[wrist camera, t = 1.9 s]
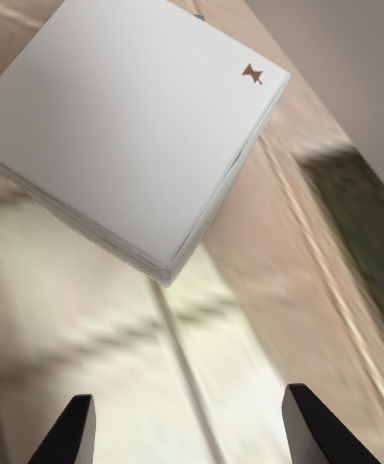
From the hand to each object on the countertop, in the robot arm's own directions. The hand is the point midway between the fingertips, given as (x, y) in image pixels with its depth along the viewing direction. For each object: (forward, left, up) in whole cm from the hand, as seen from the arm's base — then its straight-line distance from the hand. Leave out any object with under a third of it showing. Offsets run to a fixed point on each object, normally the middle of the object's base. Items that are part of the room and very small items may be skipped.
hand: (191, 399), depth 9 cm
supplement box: (+1, +9, -12) cm, 15 cm away
